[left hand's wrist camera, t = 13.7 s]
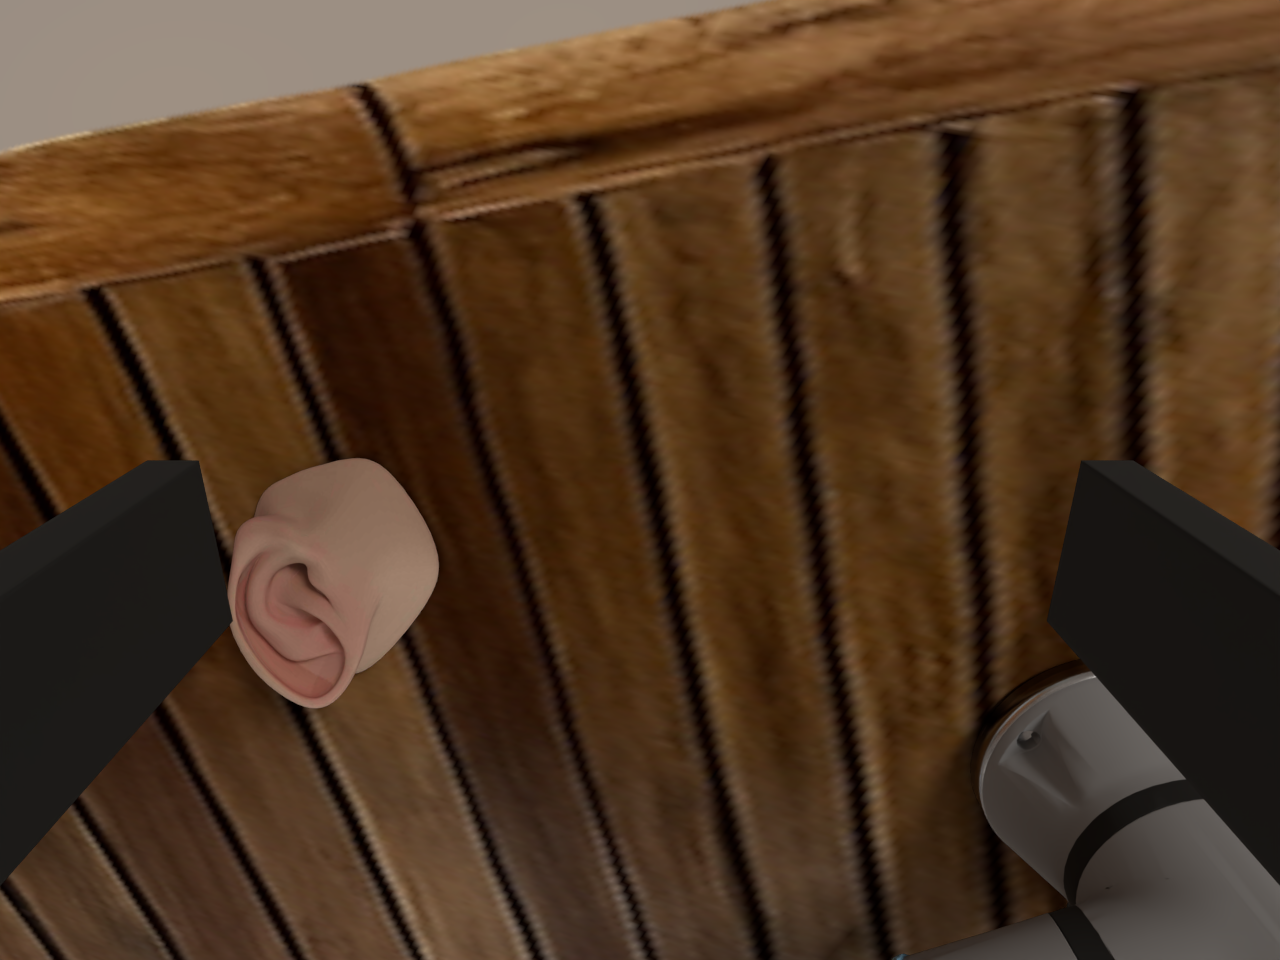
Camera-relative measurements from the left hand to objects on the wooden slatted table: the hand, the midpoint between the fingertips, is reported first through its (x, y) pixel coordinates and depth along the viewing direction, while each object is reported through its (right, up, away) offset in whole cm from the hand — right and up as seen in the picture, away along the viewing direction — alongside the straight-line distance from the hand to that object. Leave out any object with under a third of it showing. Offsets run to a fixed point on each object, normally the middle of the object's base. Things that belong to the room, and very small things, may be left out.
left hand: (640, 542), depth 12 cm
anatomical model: (-17, -4, +34) cm, 39 cm away
